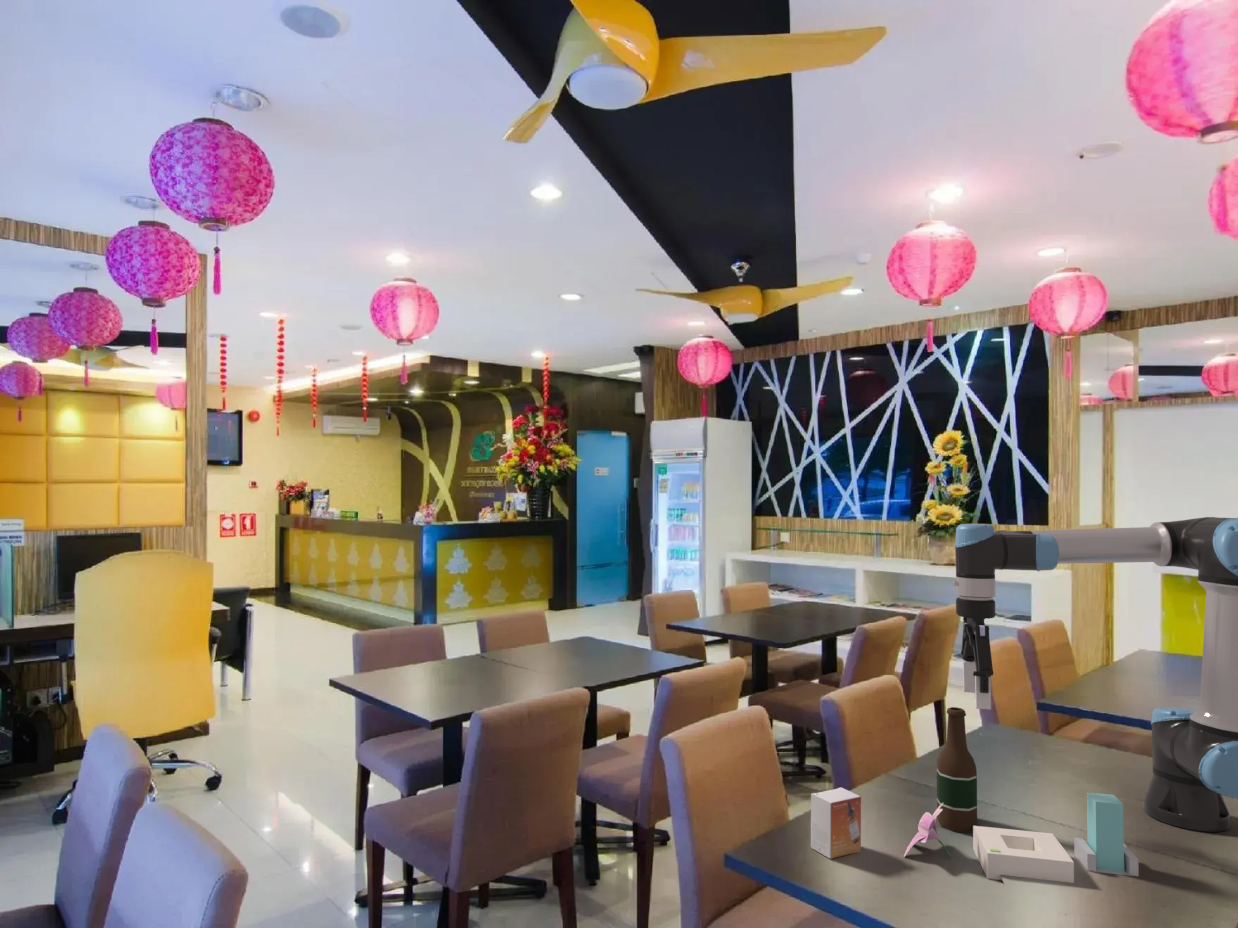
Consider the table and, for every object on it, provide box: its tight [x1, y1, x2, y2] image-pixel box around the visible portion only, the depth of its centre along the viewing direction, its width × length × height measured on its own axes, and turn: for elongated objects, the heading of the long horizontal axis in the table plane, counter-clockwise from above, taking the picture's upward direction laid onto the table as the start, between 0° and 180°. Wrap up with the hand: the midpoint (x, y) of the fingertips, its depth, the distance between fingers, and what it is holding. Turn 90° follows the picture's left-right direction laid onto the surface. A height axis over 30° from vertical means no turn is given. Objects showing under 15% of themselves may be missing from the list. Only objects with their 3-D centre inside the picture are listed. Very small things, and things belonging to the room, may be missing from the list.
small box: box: [810, 786, 862, 859], centre depth 151 cm, size 8×6×10 cm
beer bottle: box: [936, 706, 978, 834], centre depth 163 cm, size 8×8×24 cm
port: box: [972, 825, 1075, 884], centre depth 144 cm, size 14×12×5 cm
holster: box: [1073, 836, 1140, 877], centre depth 144 cm, size 8×7×4 cm
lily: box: [903, 802, 952, 858], centre depth 150 cm, size 12×12×10 cm
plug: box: [1086, 792, 1125, 872], centre depth 144 cm, size 4×4×12 cm
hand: (976, 700), depth 163 cm, fingers open, 13 cm apart
